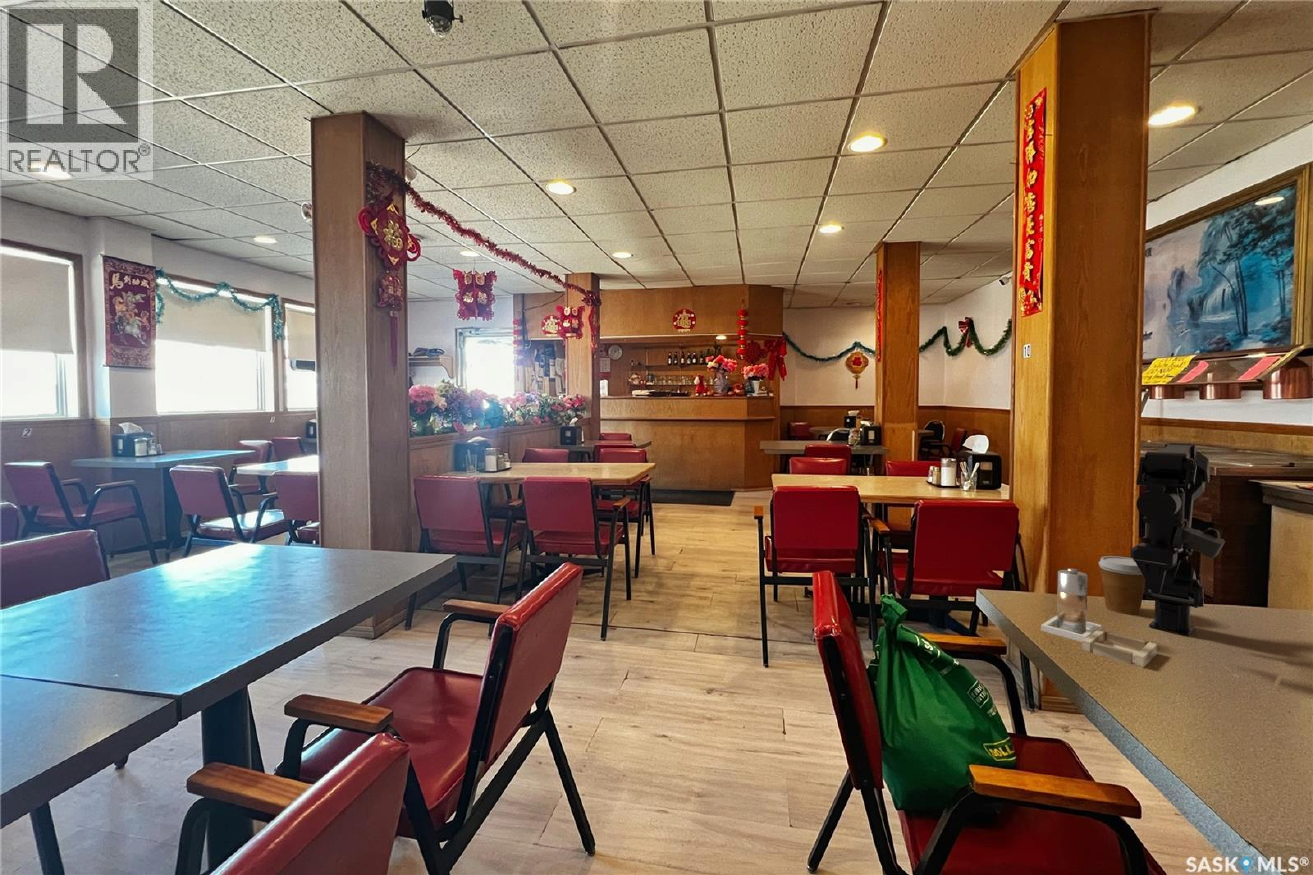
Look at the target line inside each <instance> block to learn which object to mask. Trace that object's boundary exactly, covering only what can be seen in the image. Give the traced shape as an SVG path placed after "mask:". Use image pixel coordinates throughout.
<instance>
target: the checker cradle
mask: <svg viewBox="0 0 1313 875" xmlns="http://www.w3.org/2000/svg"><path fill="white" fill-rule="evenodd" d="M1081 644H1082V646H1081V647H1082V648H1081V651H1082V652H1085V653H1089V654H1092V655H1096V656H1100V657H1103V658H1107V659H1110V660H1114V661H1117V662H1120V663H1124V664H1127V665H1131V666H1135V667H1138V668H1141V669H1144V668H1145V667H1146V666H1147V665H1148V664H1149V663H1150V662H1151V661H1152V660H1153V659H1154V658H1155V657H1156V656H1157V654H1158V644H1157V643H1154V642H1150V641H1149V642H1147V643H1146V640H1143V639H1139V638H1135V637H1130V636H1126V635H1123V634H1120V633H1119V634H1118V633H1114V632H1110V631H1108V632H1106V630H1103V629H1102V630H1099V629H1098V630H1096V631H1095V632H1094V633H1092V634H1091V635H1090V636H1088V637H1087V638H1085V639H1084V640H1083V641H1082V642H1081Z"/></svg>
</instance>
